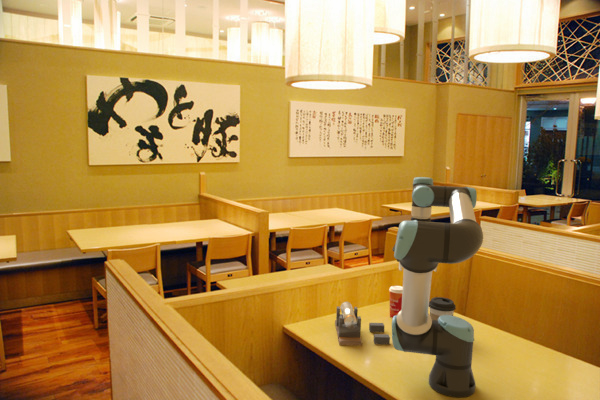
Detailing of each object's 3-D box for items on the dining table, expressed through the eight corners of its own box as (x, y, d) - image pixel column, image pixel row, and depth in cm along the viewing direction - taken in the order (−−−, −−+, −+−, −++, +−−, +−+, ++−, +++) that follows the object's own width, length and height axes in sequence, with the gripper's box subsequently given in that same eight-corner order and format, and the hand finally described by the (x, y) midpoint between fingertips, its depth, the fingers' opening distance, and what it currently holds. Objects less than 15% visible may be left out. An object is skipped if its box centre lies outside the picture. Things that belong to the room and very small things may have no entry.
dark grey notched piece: (361, 345, 192) (362, 322, 191) (339, 344, 192) (340, 322, 191) (354, 323, 214) (355, 303, 213) (334, 323, 214) (335, 303, 213)
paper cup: (384, 314, 226) (385, 286, 224) (397, 312, 230) (399, 284, 228) (394, 320, 219) (395, 291, 217) (407, 318, 223) (409, 289, 221)
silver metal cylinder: (357, 329, 194) (357, 316, 193) (344, 329, 194) (344, 316, 193) (352, 312, 211) (352, 301, 211) (340, 312, 211) (340, 301, 211)
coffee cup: (459, 337, 203) (462, 303, 201) (437, 341, 199) (439, 306, 196) (442, 327, 213) (444, 295, 211) (420, 330, 209) (423, 297, 207)
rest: (389, 344, 194) (389, 337, 194) (374, 344, 194) (375, 337, 194) (382, 329, 209) (383, 323, 209) (369, 329, 209) (369, 322, 208)
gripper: (449, 216, 189) (445, 268, 192) (387, 214, 189) (384, 266, 192) (456, 219, 182) (452, 273, 185) (390, 217, 182) (387, 272, 185)
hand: (417, 270), depth 188 cm, fingers open, 13 cm apart
